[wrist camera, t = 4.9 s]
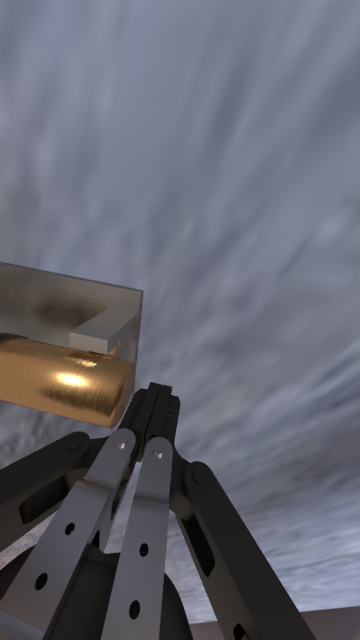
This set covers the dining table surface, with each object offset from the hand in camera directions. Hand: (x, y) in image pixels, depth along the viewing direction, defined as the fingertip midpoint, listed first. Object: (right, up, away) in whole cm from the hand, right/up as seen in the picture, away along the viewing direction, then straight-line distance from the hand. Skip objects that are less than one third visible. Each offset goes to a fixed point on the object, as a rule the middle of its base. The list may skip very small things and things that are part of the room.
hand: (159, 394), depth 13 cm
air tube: (-8, +2, +2) cm, 9 cm away
